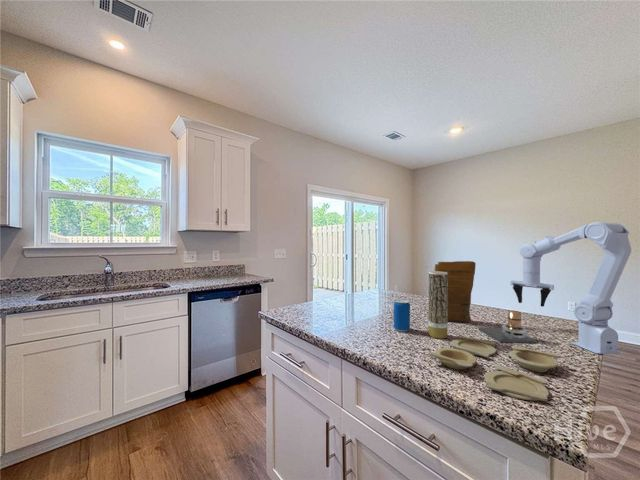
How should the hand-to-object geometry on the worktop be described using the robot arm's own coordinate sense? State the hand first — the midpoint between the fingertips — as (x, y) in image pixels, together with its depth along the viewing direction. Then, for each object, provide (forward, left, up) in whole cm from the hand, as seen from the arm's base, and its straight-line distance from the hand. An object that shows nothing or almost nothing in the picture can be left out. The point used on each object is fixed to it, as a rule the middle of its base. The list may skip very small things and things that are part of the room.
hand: (531, 304), depth 114 cm
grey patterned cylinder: (-10, +44, -11) cm, 46 cm away
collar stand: (-9, +17, -10) cm, 22 cm away
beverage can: (-3, +56, -11) cm, 57 cm away
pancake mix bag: (+10, +28, -11) cm, 32 cm away
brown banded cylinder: (-11, +15, -9) cm, 21 cm away
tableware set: (-34, +38, -11) cm, 52 cm away
